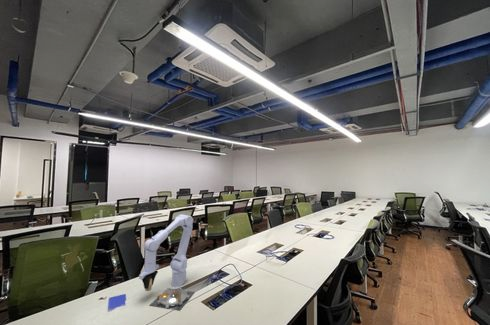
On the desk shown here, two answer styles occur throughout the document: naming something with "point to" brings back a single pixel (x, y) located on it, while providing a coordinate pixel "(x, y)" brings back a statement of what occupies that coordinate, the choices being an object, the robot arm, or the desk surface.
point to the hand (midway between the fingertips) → (148, 286)
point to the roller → (149, 285)
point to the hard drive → (116, 302)
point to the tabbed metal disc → (173, 297)
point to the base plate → (172, 306)
